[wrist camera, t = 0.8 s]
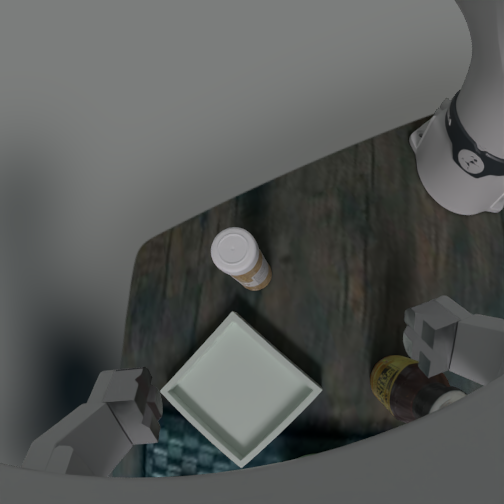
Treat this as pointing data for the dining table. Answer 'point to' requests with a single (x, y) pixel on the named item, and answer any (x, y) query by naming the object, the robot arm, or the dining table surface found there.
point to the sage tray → (240, 390)
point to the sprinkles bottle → (241, 258)
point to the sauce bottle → (410, 388)
